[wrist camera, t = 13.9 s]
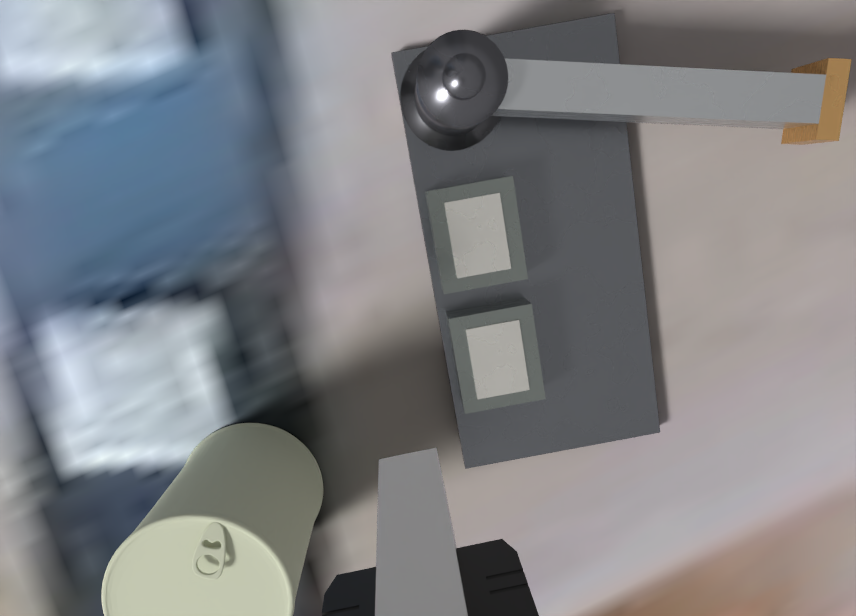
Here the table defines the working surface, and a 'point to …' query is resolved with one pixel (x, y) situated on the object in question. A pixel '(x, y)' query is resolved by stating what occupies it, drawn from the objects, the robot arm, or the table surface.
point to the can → (223, 531)
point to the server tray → (536, 265)
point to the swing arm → (623, 92)
